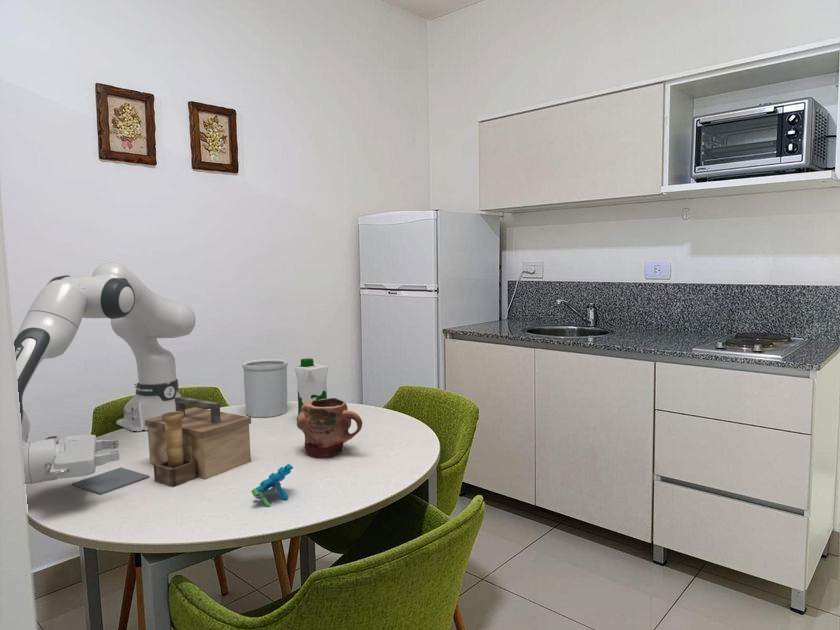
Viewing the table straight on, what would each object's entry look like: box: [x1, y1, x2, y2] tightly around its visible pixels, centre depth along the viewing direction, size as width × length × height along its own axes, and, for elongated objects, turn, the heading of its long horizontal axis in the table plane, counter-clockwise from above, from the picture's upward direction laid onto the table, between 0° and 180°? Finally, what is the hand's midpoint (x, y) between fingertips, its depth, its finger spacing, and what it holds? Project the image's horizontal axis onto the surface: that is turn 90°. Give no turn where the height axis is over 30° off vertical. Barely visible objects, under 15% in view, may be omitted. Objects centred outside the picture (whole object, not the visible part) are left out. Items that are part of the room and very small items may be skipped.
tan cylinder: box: [162, 411, 184, 468], centre depth 139 cm, size 5×5×16 cm
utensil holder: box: [242, 358, 288, 419], centre depth 199 cm, size 15×15×18 cm
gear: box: [251, 463, 294, 508], centre depth 127 cm, size 11×6×10 cm
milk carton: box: [294, 357, 329, 416], centre depth 187 cm, size 9×9×20 cm
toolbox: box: [145, 395, 252, 488], centre depth 148 cm, size 23×21×16 cm
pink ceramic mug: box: [296, 397, 363, 459], centre depth 156 cm, size 20×12×14 cm, turn 72°
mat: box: [71, 467, 150, 496], centre depth 140 cm, size 12×12×1 cm
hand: (119, 449), depth 133 cm, fingers open, 8 cm apart
